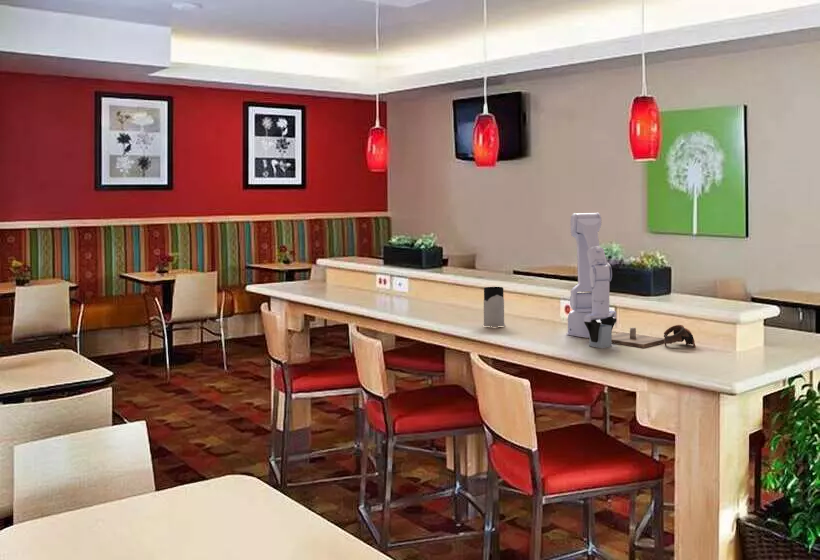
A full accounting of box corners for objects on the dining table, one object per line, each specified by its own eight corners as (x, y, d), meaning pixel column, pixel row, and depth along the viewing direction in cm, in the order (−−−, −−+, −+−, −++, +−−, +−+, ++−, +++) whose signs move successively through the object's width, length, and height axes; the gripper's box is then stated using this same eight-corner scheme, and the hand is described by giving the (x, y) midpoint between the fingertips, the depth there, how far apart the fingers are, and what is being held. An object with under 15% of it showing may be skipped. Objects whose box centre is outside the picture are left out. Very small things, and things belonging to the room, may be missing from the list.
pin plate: (598, 340, 300) (598, 327, 299) (623, 335, 309) (623, 322, 308) (643, 347, 286) (643, 334, 286) (667, 342, 295) (667, 328, 295)
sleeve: (589, 346, 291) (589, 325, 290) (598, 344, 294) (599, 323, 294) (601, 348, 287) (602, 327, 286) (611, 346, 291) (611, 325, 290)
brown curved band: (699, 350, 282) (688, 330, 280) (672, 362, 285) (661, 342, 284) (694, 335, 293) (684, 315, 291) (668, 346, 296) (657, 326, 295)
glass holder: (487, 328, 329) (486, 289, 327) (475, 323, 342) (474, 285, 341) (508, 327, 331) (508, 288, 329) (496, 321, 345) (495, 284, 343)
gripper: (596, 304, 281) (596, 345, 283) (623, 299, 291) (623, 339, 292) (579, 302, 287) (579, 342, 288) (606, 297, 296) (606, 336, 298)
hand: (600, 340), depth 291 cm, fingers open, 6 cm apart
